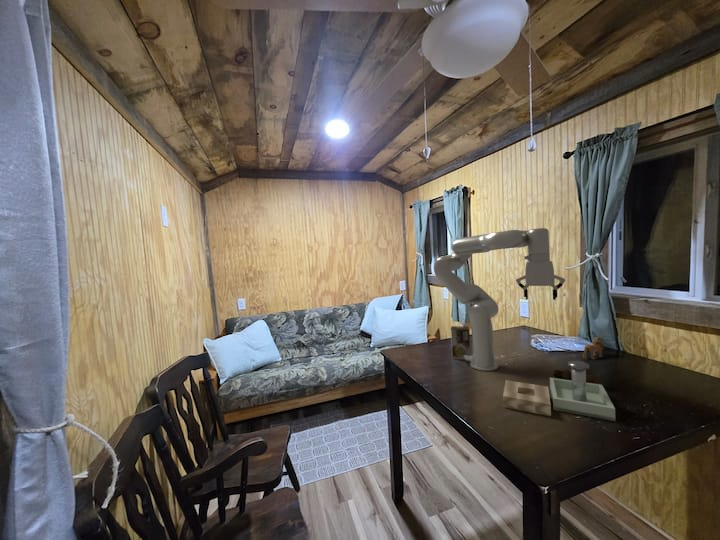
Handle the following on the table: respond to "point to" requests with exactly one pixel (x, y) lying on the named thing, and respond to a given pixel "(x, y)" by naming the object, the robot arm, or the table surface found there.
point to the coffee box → (460, 341)
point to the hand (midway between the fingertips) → (540, 299)
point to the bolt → (568, 376)
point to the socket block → (527, 397)
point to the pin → (578, 380)
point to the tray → (595, 404)
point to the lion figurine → (594, 348)
